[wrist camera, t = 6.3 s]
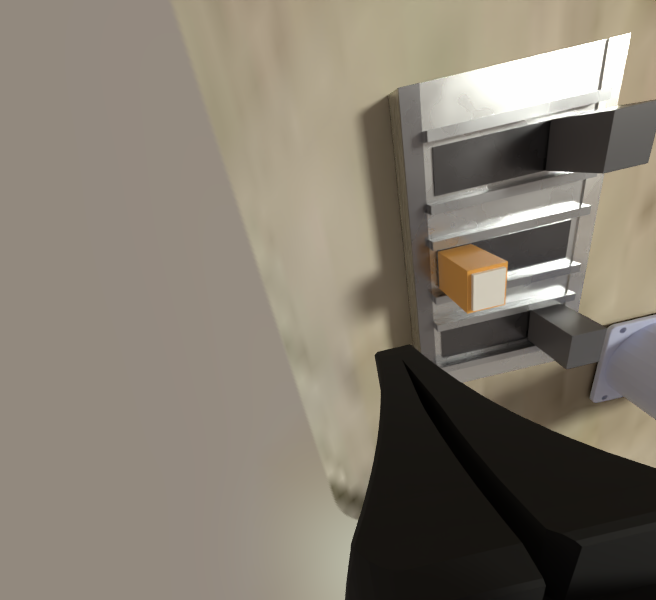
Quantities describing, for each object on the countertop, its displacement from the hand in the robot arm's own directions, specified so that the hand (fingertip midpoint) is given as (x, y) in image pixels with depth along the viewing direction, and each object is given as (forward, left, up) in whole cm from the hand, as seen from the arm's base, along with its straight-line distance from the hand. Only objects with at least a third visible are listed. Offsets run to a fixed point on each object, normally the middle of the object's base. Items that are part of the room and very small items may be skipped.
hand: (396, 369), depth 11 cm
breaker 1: (-12, -6, -8) cm, 15 cm away
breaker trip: (-6, 0, -7) cm, 10 cm away
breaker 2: (-12, +5, -7) cm, 15 cm away
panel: (-9, 0, -9) cm, 13 cm away
